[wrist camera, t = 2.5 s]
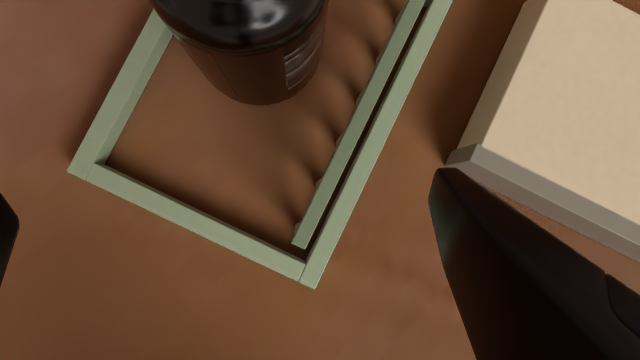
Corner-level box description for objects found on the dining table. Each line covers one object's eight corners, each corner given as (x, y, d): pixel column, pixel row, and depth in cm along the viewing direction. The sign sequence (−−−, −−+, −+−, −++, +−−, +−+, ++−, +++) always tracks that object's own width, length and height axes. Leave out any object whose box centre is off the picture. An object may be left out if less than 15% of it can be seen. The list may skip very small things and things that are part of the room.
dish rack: (313, 284, 21) (319, 309, 17) (78, 173, 21) (17, 166, 16) (449, 1, 23) (488, -49, 18) (230, -112, 22) (214, -193, 18)
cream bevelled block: (706, 296, 23) (772, 312, 20) (444, 165, 22) (469, 160, 19) (771, 133, 24) (845, 122, 20) (520, 1, 23) (556, -30, 20)
